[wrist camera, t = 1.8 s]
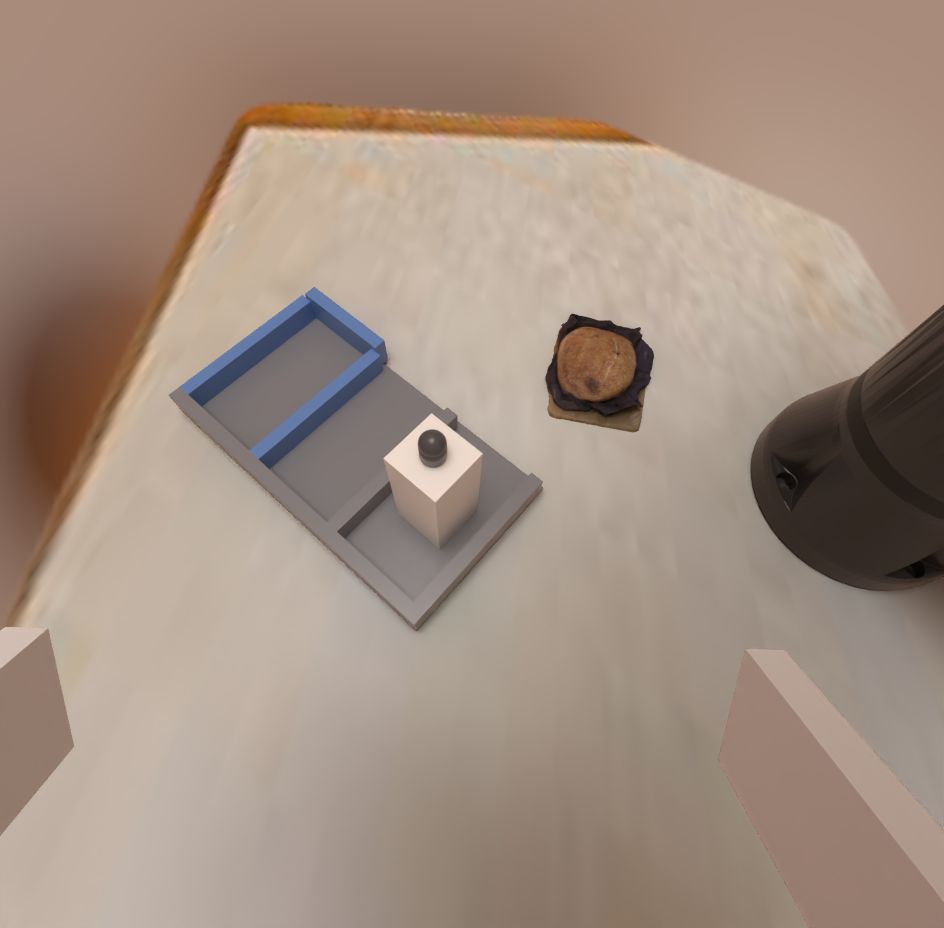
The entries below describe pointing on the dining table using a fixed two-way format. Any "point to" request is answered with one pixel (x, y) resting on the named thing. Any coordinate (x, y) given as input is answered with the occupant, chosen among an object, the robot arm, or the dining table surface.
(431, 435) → the cream block with knob
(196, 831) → the dining table surface
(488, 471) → the gray divided tray
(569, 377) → the bun on dark wrapper
